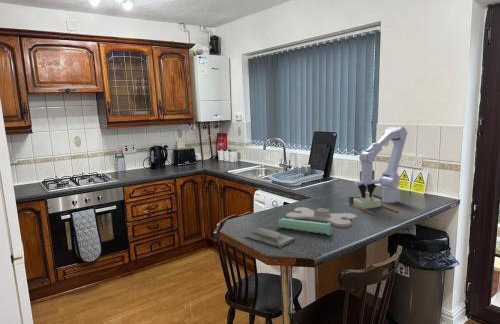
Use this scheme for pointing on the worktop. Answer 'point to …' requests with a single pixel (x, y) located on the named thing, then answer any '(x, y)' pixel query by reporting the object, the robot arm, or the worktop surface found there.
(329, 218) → the holder
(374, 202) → the green tray with post
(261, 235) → the grey stepped block
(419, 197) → the worktop surface
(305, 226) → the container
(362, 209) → the bay
